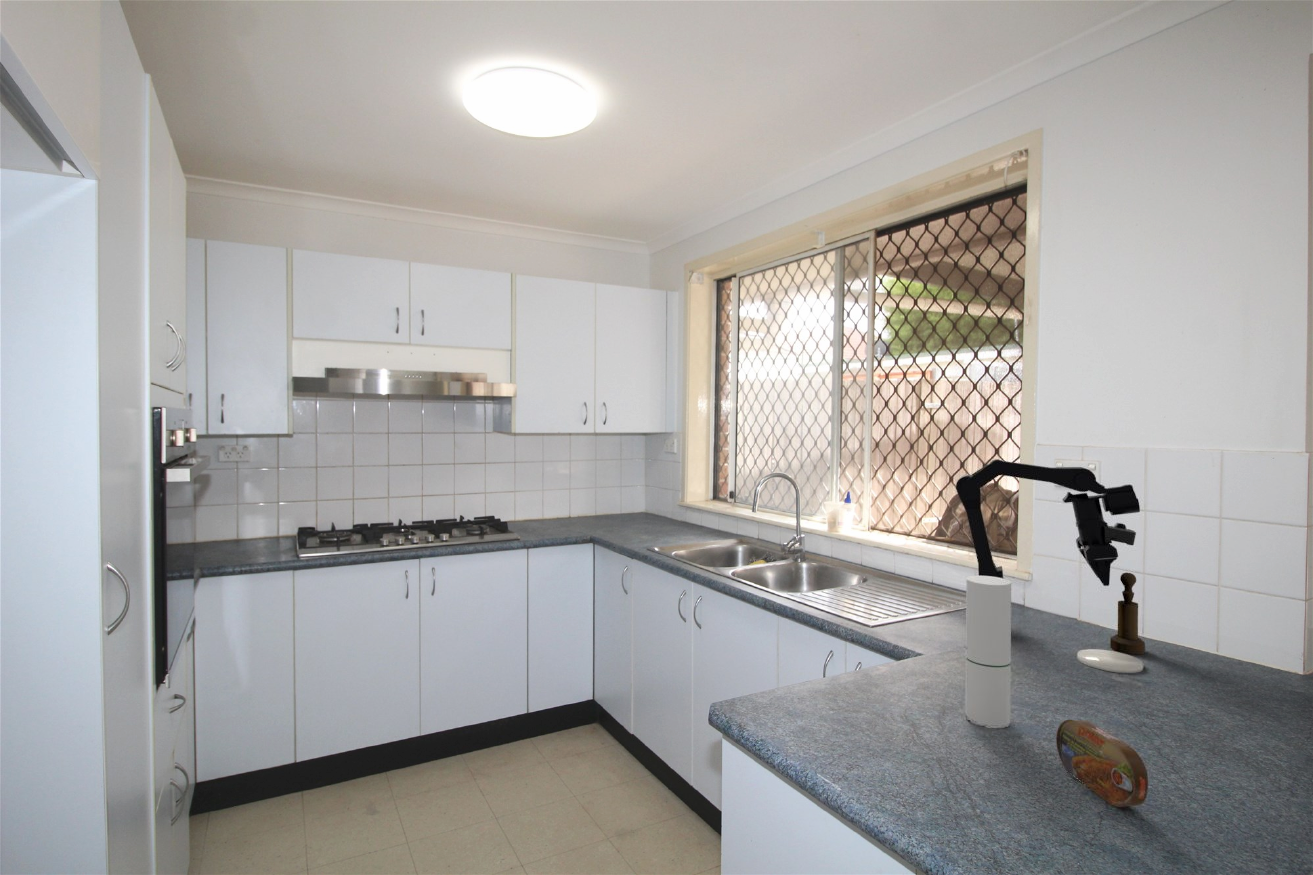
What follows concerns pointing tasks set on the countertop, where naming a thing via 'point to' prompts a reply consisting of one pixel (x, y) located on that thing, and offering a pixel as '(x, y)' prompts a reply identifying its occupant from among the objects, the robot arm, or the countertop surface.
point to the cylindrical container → (988, 649)
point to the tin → (1102, 763)
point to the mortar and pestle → (1127, 621)
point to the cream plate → (1110, 661)
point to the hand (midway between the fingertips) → (1103, 581)
